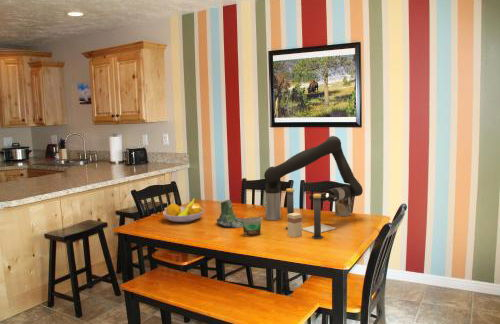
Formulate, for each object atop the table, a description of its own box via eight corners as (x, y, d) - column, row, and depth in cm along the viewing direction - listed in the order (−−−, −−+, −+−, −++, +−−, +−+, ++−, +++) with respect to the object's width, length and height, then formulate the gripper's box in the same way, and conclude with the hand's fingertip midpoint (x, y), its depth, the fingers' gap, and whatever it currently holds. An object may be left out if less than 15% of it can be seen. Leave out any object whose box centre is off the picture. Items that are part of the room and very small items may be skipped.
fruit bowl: (184, 227, 252) (183, 209, 251) (154, 221, 269) (153, 204, 267) (215, 217, 274) (214, 200, 273) (186, 212, 291) (185, 196, 289)
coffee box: (351, 214, 272) (351, 190, 270) (348, 216, 266) (348, 191, 264) (337, 213, 276) (337, 189, 274) (334, 215, 270) (334, 190, 268)
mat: (301, 229, 241) (301, 228, 240) (321, 224, 250) (321, 223, 250) (315, 234, 231) (315, 233, 231) (336, 228, 240) (336, 227, 240)
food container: (244, 237, 228) (243, 220, 227) (241, 234, 234) (240, 217, 233) (265, 235, 232) (265, 217, 230) (262, 232, 238) (261, 215, 236)
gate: (283, 228, 243) (282, 188, 240) (291, 226, 247) (290, 187, 244) (317, 240, 221) (316, 196, 218) (325, 237, 224) (325, 194, 221)
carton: (287, 235, 231) (287, 214, 229) (295, 233, 234) (295, 212, 232) (294, 237, 226) (294, 216, 225) (302, 235, 229) (301, 214, 228)
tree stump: (246, 230, 245) (238, 201, 243) (215, 236, 250) (206, 208, 248) (253, 220, 263) (245, 193, 261) (224, 226, 268) (216, 200, 266)
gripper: (326, 186, 251) (306, 190, 242) (344, 189, 239) (323, 194, 230) (326, 199, 252) (306, 203, 243) (344, 202, 240) (324, 207, 231)
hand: (315, 198), depth 236 cm, fingers open, 8 cm apart
